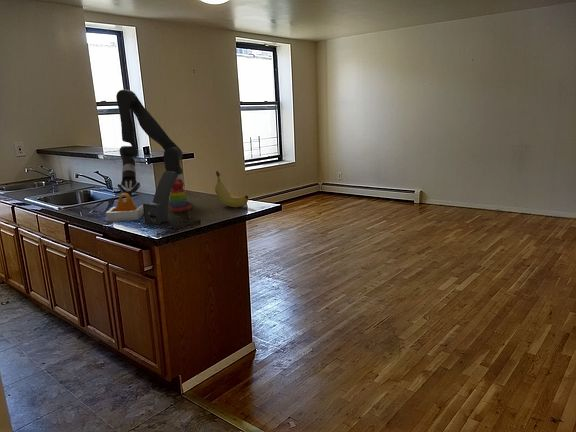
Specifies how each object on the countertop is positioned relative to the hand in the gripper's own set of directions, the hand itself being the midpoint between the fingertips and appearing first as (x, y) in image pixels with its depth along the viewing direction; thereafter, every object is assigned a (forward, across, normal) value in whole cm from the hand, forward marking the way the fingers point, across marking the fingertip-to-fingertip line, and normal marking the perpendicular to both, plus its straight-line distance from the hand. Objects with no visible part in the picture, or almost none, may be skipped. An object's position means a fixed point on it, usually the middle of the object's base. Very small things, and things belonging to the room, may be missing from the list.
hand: (129, 197), depth 248 cm
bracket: (+16, 0, -5) cm, 16 cm away
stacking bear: (+11, +27, +1) cm, 29 cm away
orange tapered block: (+14, -1, -2) cm, 14 cm away
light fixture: (+26, +20, -14) cm, 36 cm away
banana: (+13, +57, +1) cm, 58 cm away
